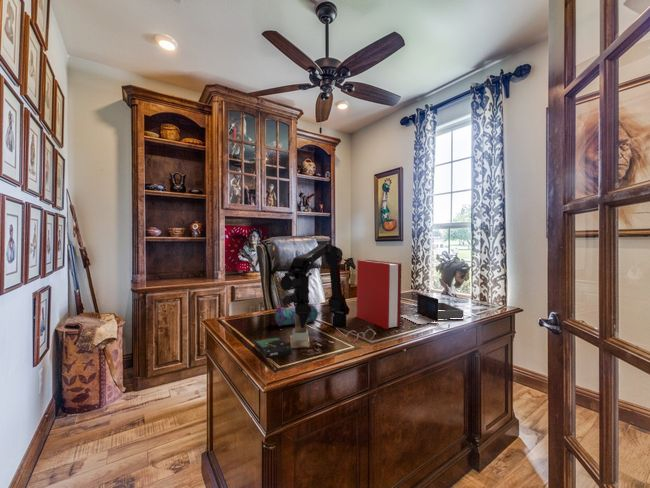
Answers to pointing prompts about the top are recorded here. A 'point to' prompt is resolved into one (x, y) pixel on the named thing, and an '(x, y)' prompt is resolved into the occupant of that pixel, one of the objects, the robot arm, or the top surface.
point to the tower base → (298, 343)
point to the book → (379, 292)
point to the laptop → (425, 310)
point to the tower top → (300, 336)
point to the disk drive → (273, 347)
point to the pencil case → (292, 315)
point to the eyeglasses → (356, 332)
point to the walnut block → (298, 326)
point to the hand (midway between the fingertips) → (301, 324)
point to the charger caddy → (449, 311)
